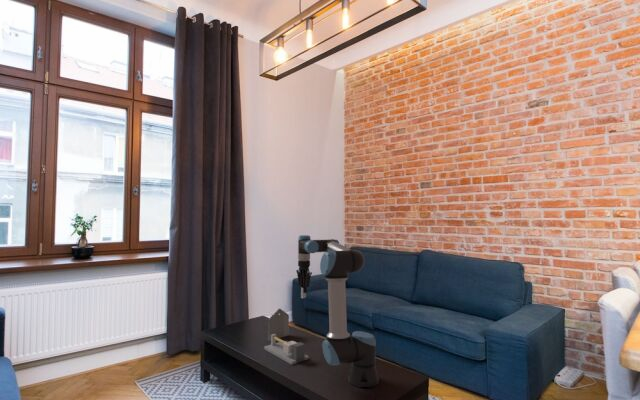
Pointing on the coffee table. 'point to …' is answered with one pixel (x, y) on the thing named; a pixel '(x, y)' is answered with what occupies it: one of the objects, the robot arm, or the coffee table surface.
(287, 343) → the sleeve
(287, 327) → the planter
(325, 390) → the coffee table surface
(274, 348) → the light grey blocky piece
